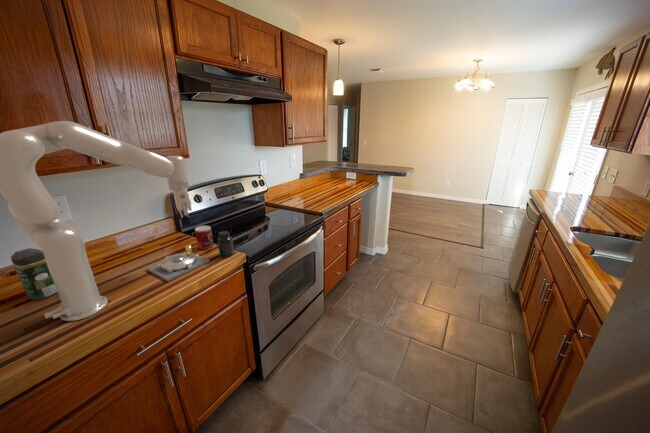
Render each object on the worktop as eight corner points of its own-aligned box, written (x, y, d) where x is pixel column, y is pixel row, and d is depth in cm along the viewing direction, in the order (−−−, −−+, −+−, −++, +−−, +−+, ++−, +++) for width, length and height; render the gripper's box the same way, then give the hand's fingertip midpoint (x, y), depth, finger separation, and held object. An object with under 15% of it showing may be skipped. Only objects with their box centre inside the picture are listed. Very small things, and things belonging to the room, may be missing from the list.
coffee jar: (24, 296, 100) (4, 252, 94) (51, 286, 107) (35, 244, 101) (35, 303, 96) (15, 258, 90) (63, 292, 103) (46, 249, 97)
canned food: (204, 251, 136) (201, 231, 132) (194, 248, 139) (191, 229, 136) (216, 246, 142) (214, 227, 138) (207, 243, 146) (204, 224, 142)
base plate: (167, 281, 109) (166, 278, 109) (146, 270, 118) (146, 267, 117) (209, 261, 125) (209, 258, 125) (189, 253, 134) (188, 250, 133)
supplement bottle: (216, 256, 131) (213, 233, 127) (227, 250, 136) (224, 229, 133) (226, 259, 128) (223, 236, 124) (236, 253, 133) (234, 231, 130)
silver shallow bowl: (175, 275, 112) (172, 262, 109) (152, 267, 118) (149, 254, 116) (204, 260, 124) (202, 248, 122) (182, 253, 131) (179, 242, 129)
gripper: (191, 187, 109) (198, 228, 115) (185, 181, 121) (191, 219, 127) (171, 189, 105) (179, 231, 111) (166, 183, 117) (174, 222, 122)
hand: (186, 225), depth 119 cm, fingers closed
